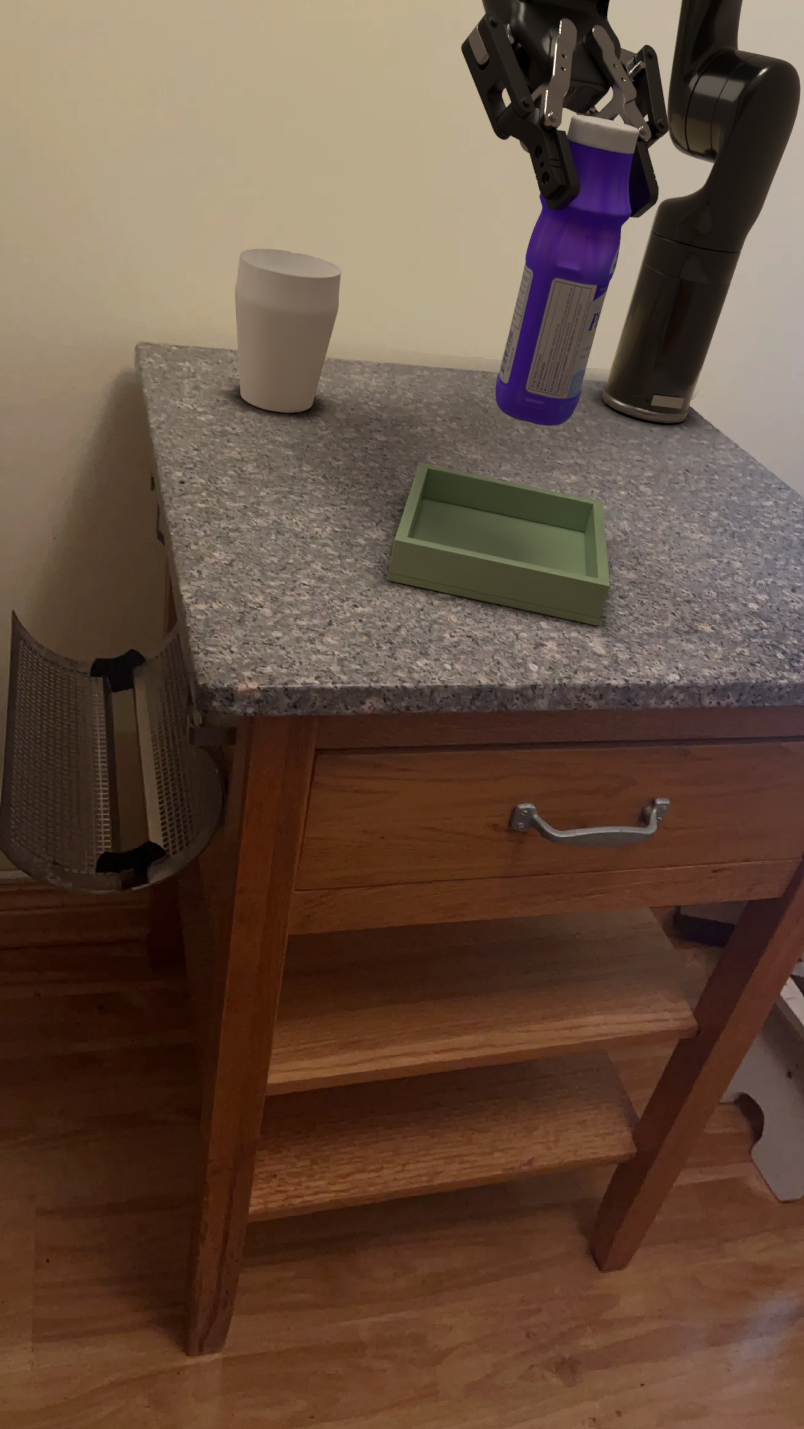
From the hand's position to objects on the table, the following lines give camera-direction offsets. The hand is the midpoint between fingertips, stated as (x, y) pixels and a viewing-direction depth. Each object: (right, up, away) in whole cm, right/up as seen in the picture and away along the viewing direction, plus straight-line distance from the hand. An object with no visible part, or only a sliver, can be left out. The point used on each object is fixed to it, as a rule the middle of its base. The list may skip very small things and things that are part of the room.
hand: (605, 205), depth 61 cm
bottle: (-3, -10, +9) cm, 14 cm away
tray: (-5, -19, +15) cm, 24 cm away
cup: (-24, -1, +34) cm, 41 cm away
